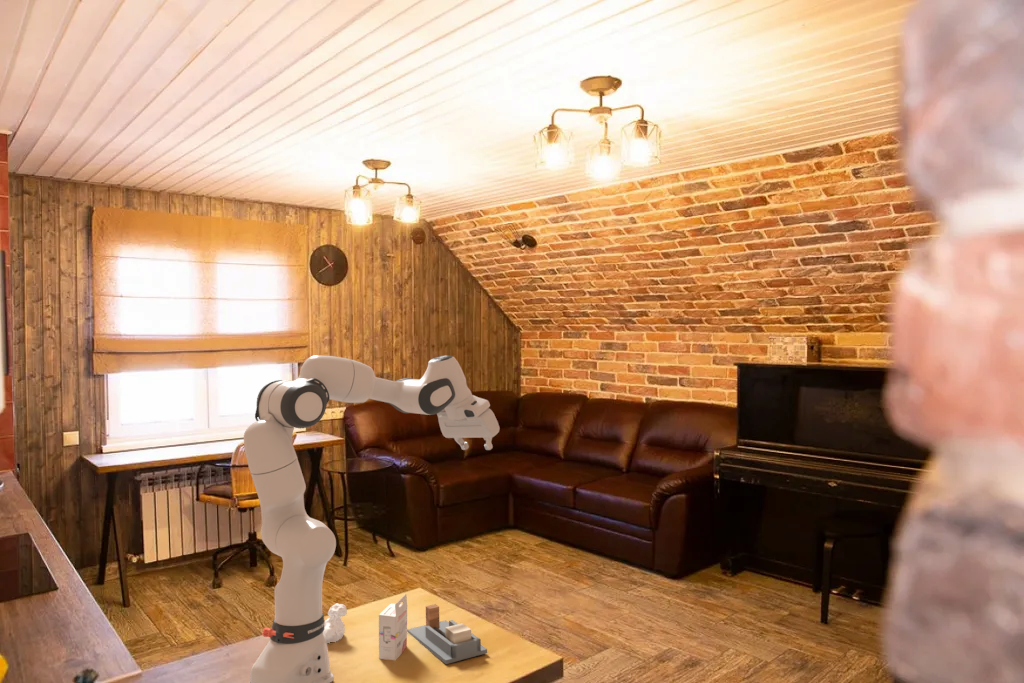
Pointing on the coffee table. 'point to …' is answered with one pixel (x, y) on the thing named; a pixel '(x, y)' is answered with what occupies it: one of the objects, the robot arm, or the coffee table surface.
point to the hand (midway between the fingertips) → (477, 448)
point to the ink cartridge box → (393, 630)
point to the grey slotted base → (447, 643)
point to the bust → (334, 623)
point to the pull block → (452, 632)
